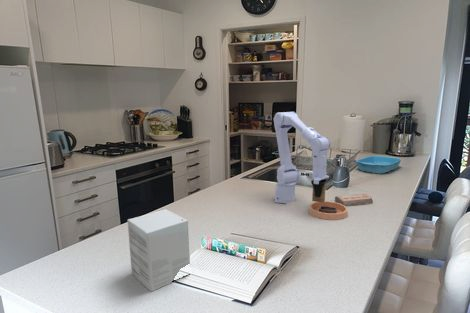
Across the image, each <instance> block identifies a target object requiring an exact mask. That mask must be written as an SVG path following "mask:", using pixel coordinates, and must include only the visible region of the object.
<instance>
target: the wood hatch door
mask: <svg viewBox="0 0 470 313" xmlns="http://www.w3.org/2000/svg"><path fill="white" fill-rule="evenodd" d="M311 195H312V197H311V201H312V202H323V203H324V202H325V201H326V185H325V184H324V185H323V188H322V193H321V196H320V197H315V193H314V188H313V187H312V194H311Z"/></svg>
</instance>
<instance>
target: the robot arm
mask: <svg viewBox="0 0 470 313" xmlns="http://www.w3.org/2000/svg"><path fill="white" fill-rule="evenodd" d="M272 119H273V123H274V130H275V136H276V142H277V150H278V155H279V161H280V166H279V167H278V168H277V169H276V174H277V175H276V180H277V183H276V184H275V189H274V198H275V199H274V203H280V204H288V203H292V202H295V200H296V185H297V182H298V181H299V180H300V173H299V172H298V170H297V166H296V165H294V164H293V162H292V156H291V148H290V143H289V137H288V131H289V130H290V129H291V128H294V129H296V130H297V131H298V132H299V133H301V136H302V138H303V139H304V140H305V142H307V143H308V144H309V146H310V149H311V154H312V174H311V178H312V180H311V181H310V182H311V186H312V189H313V188H314V193H315V197H320V196H321V193H322V188H323V185H325V184H326V182H327V180H328V179H329V177H330V176H329V175H327V167H328V166H327V163H328V162H327V161H328V160H327V159H328V151H329V150H330V149H331V141H330V139H329V138H328V137H327V136H322V135H321V134H320V133H318V132H317V131H316V130H315V127H310V126H309V127H308V126H307V125H306V124H305V123H304V121H302V120H301V119H300V118H299V115H298V113H296V112H295V111H286V112H285V111H283V112H279V111H278V112H276V113H275V114H274V117H273V118H272Z"/></svg>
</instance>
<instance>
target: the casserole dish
mask: <svg viewBox="0 0 470 313" xmlns="http://www.w3.org/2000/svg"><path fill="white" fill-rule="evenodd" d="M355 161H356V166H357V168H358V170H360V171H361V172H365V171H366V173H371V172H372V174H377V175H378V174H386V172H387V173H389V172H391V170H392V171H393V170H395V169H397V168H398V167H399V165H400V163H401V161H402V158H399V157H394V156H389V155H388V156H387V155H368V156H365V157H362V158H361V157H360V158H359V159H356V160H355Z"/></svg>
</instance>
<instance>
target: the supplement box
mask: <svg viewBox="0 0 470 313" xmlns="http://www.w3.org/2000/svg"><path fill="white" fill-rule="evenodd" d="M127 231H128V244H129V246H128V247H129V255H130V268H131V269H130V270H131V274H132V275H133V276H134V277H135V278H136V279H137V281H139V282H140V283H141V284H143V286H144V287H145V288H147V289H148V291H149V292H154V291H156V290H158V289H160V288H163V287H164V286H167V285H169V284H172V283H173V282H172V281H173V280H174V278H175V276H176V275H177V273H178V272H179V270H180V269H181V268H183V267H185V266H186V265H188V264H190V265H191V256H190V255H191V254H190V242H189V241H190V238H189V234H190V233H189V221H188V219H186V218H184V217H182V216H181V215H179V214H176V213H175V212H172V211H170V210H168V209H167V208H165V209H161V210H158V211H154V212H150V213H148V214H144V215H140V216H136V217H133V218H128V219H127ZM171 282H172V283H171Z"/></svg>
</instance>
